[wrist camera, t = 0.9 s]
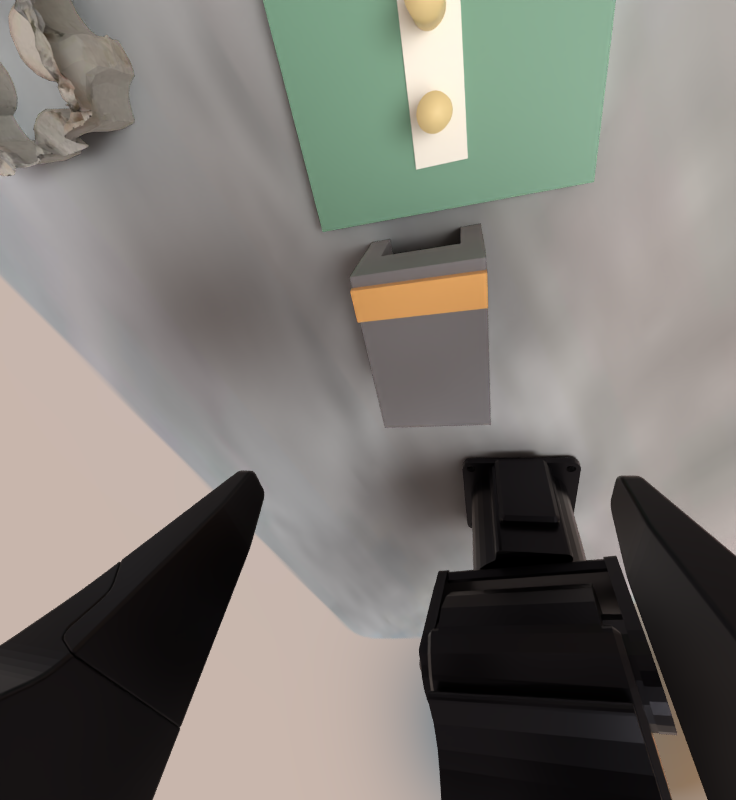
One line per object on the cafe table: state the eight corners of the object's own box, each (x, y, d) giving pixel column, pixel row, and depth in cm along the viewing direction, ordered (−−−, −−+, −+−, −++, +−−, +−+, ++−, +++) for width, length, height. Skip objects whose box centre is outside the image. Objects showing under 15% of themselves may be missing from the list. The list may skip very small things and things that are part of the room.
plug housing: (485, 367, 20) (491, 429, 16) (397, 373, 21) (383, 432, 17) (480, 223, 16) (486, 260, 12) (372, 241, 17) (347, 280, 13)
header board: (585, 176, 14) (614, 193, 11) (330, 224, 17) (305, 247, 14) (650, -439, 8) (751, -727, 5) (226, -200, 10) (147, -304, 8)
